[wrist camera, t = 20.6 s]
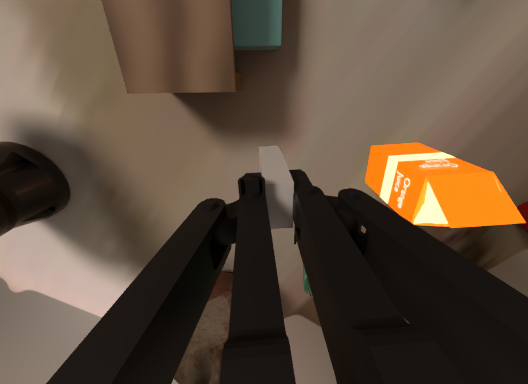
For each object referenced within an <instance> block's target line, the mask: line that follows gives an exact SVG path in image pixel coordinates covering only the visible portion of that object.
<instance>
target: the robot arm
mask: <svg viewBox="0 0 528 384" xmlns="http://www.w3.org/2000/svg"><path fill="white" fill-rule="evenodd" d="M259 161H260V173H246V174H245V175H244V176H243V177H241V178H239V180H238V187H239V200H237V201H235V202H233V203H230V204H226V205H225V202H224V201H223V200H222V199H217V198H210V199H206V200H204V201H202V202H201V203H199V204H198V205H197V207H196V208H195V209H194V210H193V211H192V212H191V214H190V215H189V216H188V217H187V218H186V219H185V221H184V222H183V223H182V224H181V225H180V227H179V228H178V229H177V230H176V231H175V232H174V234H173V235H172V236H171V237H170V238H169V240H168V241H167V242H166V243H165V244H164V245H163V247H162V248H161V249H160V250H159V251H158V252H157V254H156V255H155V256H154V257H153V258H152V260H151V261H150V262H149V263H148V264H147V265H146V267H145V268H144V269H143V270H142V271H141V273H140V274H139V275H138V276H137V277H136V278H135V280H134V281H133V282H132V283H131V284H130V285H129V287H128V288H127V289H126V290H125V291H124V293H123V294H122V295H121V296H120V297H119V298H118V300H117V301H116V302H115V303H114V304H113V305H112V307H111V308H110V309H109V310H108V311H107V313H106V314H105V315H104V316H103V317H102V318H101V320H100V321H99V322H98V323H97V324H96V326H95V327H94V328H93V329H92V330H91V332H90V333H89V334H88V335H87V336H86V337H85V338H84V340H83V341H82V342H81V343H80V344H79V346H78V347H77V348H76V349H75V350H74V351H73V353H72V354H71V355H70V356H69V357H68V359H67V360H66V361H65V362H64V363H63V364H62V366H61V367H60V368H59V369H58V371H57V372H56V373H55V374H54V375H53V376H52V377H51V379H50V380H49V381H48V382H47V383H46V384H171V383H172V381H173V378H174V376H175V374H176V372H177V369H178V367H179V365H180V363H181V360H182V358H183V356H184V354H185V351H186V349H187V347H188V345H189V342H190V340H191V338H192V336H193V333H194V331H195V329H196V327H197V324H198V322H199V320H200V318H201V315H202V313H203V311H204V309H205V306H206V304H207V302H208V300H209V297H210V295H211V293H212V291H213V288H214V286H215V284H216V281H217V279H218V277H219V275H220V272H221V270H222V268H223V266H224V263H225V261H226V259H227V257H228V254H229V252H230V250H231V246H232V245H231V244H234V243H236V246H235V258H234V271H233V283H232V296H231V308H230V321H229V333H228V339H227V341H226V342H225V343H224V347H223V353H222V360H221V370H220V381H219V384H296V382H295V376H294V370H293V363H292V357H291V350H290V345H289V340H288V337H287V335H286V331H285V326H284V318H283V311H282V304H281V297H280V290H279V284H278V277H277V270H276V263H275V256H274V249H273V242H272V235H271V229H276V228H290V227H293V221H294V224H295V233H294V244H296V241H297V243H298V247H299V250H300V254H301V257H302V261H303V264H304V268H305V271H306V275H307V278H308V282H309V285H310V289H311V292H312V296H313V299H314V303H315V306H316V310H317V313H318V317H319V320H320V324H321V327H322V331H323V334H324V337H325V341H326V345H327V348H328V352H329V355H330V359H331V362H332V366H333V369H334V373H335V377H336V381H337V384H528V297H527V296H525V295H523V294H522V293H520V292H519V291H517V290H516V289H514V288H512V287H511V286H509V285H508V284H506V283H505V282H503V281H501V280H500V279H498V278H497V277H495V276H494V275H492V274H490V273H489V272H488V271H486V270H484V269H483V268H481V267H480V266H478V265H477V264H475V263H474V262H472V261H470V260H469V259H467V258H466V257H464V256H463V255H461V254H459V253H458V252H456V251H455V250H453V249H452V248H450V247H449V246H447V245H445V244H444V243H442V242H441V241H439V240H438V239H436V238H435V237H433V236H431V235H430V234H428V233H427V232H425V231H424V230H422V229H420V228H419V227H417V226H416V225H414V224H413V223H411V222H410V221H408V220H406V219H405V218H403V217H402V216H400V215H399V214H397V213H396V212H394V211H392V210H391V209H389V208H388V207H386V206H385V205H383V204H381V203H380V202H378V201H377V200H375V199H374V198H372V197H371V196H369V195H367V194H366V193H364V192H362V191H360V190H356V189H353V188H348V189H343V190H340V191H339V193H338V197H334V196H326V195H324V193H323V192H322V190H321V189H320V188H318V187H316V186H313V185H312V184H311V182H310V180H309V179H308V177H307V175H306V173H305V172H304V171H302V170H300V169H298V170H288V167H287V165H286V162H285V160H284V158H283V155H282V153H281V151H280V148H279V146H263V147H259ZM69 196H70V191H69V186H68V183H67V181H66V179H65V177H64V175H63V174H62V172H61V171H60V170H59V169H58V168H57V166H56V165H55V164H54V163H52V162H51V161H50V160H49V159H48V158H46V157H45V156H44V155H42V154H41V153H39V152H37V151H35V150H33V149H31V148H29V147H27V146H24V145H21V144H17V143H12V142H0V236H1V235H3V234H5V233H6V232H8V231H10V230H11V229H13V228H15V227H19V226H22V225H25V224H29V223H32V222H36V221H39V220H42V219H46V218H48V217H51V216H53V215H54V214H56V213H57V212H59V211H60V210H62V209H63V208H64V207H65V206H66V205H67V203H68V201H69ZM362 225H363V226H364V227H365V228H366V233H365V234H364V233H363V232H362V231H361V226H362ZM398 311H399V312H400V313H401V314H402V315H403V317H404V318H405V319H406V320H407V321H408V322H409V323H410V324H408V323H407V322H406V321H405V320H404V319H403V318H402V316H401V315H400V313H399V312H398Z"/></svg>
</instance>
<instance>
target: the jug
mask: <svg viewBox="0 0 528 384" xmlns="http://www.w3.org/2000/svg"><path fill="white" fill-rule="evenodd" d="M232 283H233V274H232V273H230V272H220V275H219V277H218V279H217V281H216V284H215V286H214V288H213V291H212V293H211V295H210V297H209V300H208V302H207V304H206V306H205V309H204V311H203V313H202V315H201V318H200V320H199V322H198V324H197V327H196V329H195V331H194V333H193V336H192V338H191V340H190V342H189V345H188V347H187V349H186V351H185V354H184V356H183V358H182V360H181V363H180V365H179V367H178V369H177V372H176V374H175V376H174V379H175V380H176V381H177V382H178V383H179V384H219V381H220V370H221V360H222V353H223V347H224V343H225V342H226V341H227V339H228V333H229V321H230V308H231V296H232Z"/></svg>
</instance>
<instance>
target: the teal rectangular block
mask: <svg viewBox="0 0 528 384" xmlns="http://www.w3.org/2000/svg"><path fill="white" fill-rule="evenodd" d="M231 2H232V18H233V34H234V50H278V49H279V48H280V46H281V27H282V0H231Z"/></svg>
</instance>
